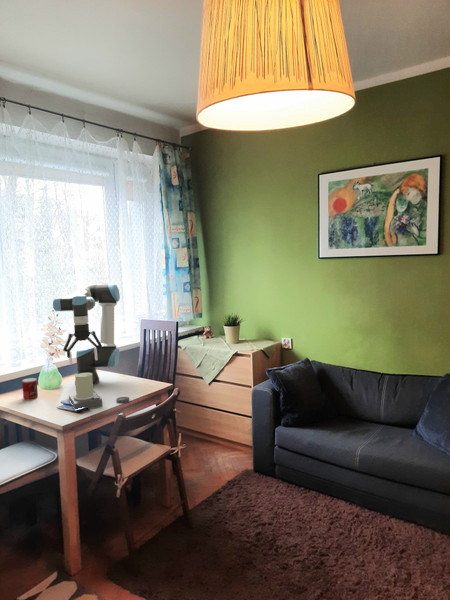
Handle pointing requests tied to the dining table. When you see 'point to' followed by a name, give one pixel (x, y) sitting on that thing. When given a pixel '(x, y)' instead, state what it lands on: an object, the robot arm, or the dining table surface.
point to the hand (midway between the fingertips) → (83, 361)
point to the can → (84, 385)
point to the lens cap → (122, 399)
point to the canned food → (30, 388)
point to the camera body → (86, 401)
